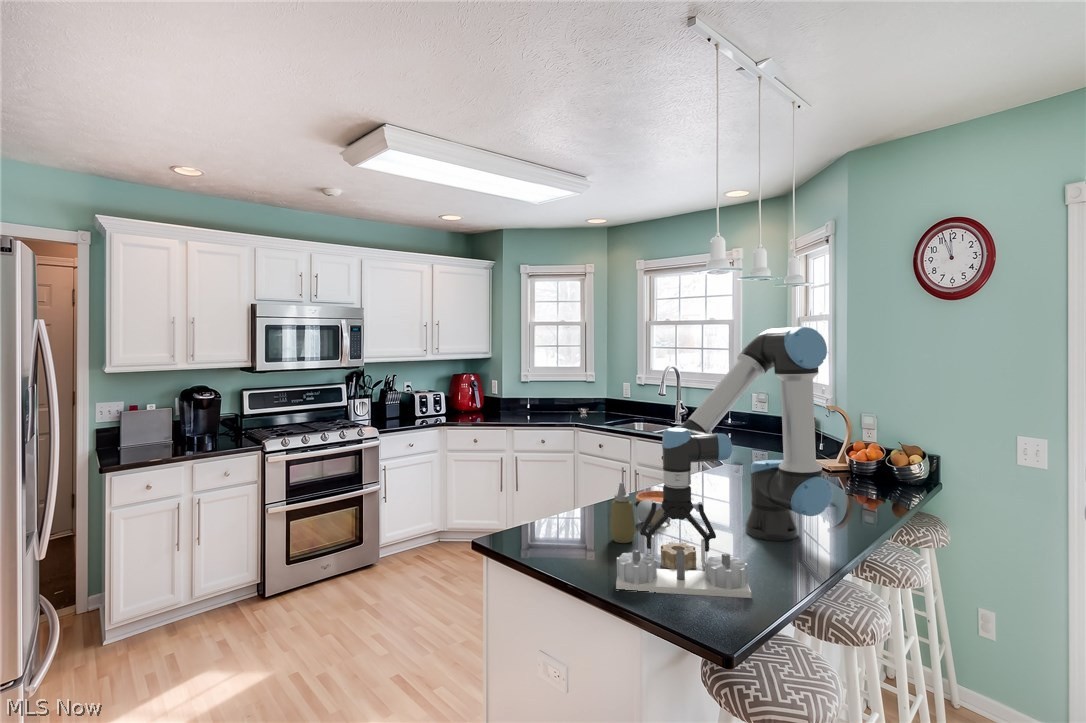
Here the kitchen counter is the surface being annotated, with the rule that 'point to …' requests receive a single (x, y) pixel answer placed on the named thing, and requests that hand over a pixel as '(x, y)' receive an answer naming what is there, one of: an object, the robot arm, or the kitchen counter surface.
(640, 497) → the saucer
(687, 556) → the wooden gear
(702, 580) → the gear board
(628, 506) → the squeeze bottle
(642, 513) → the ceramic mug
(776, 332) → the robot arm
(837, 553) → the kitchen counter surface
